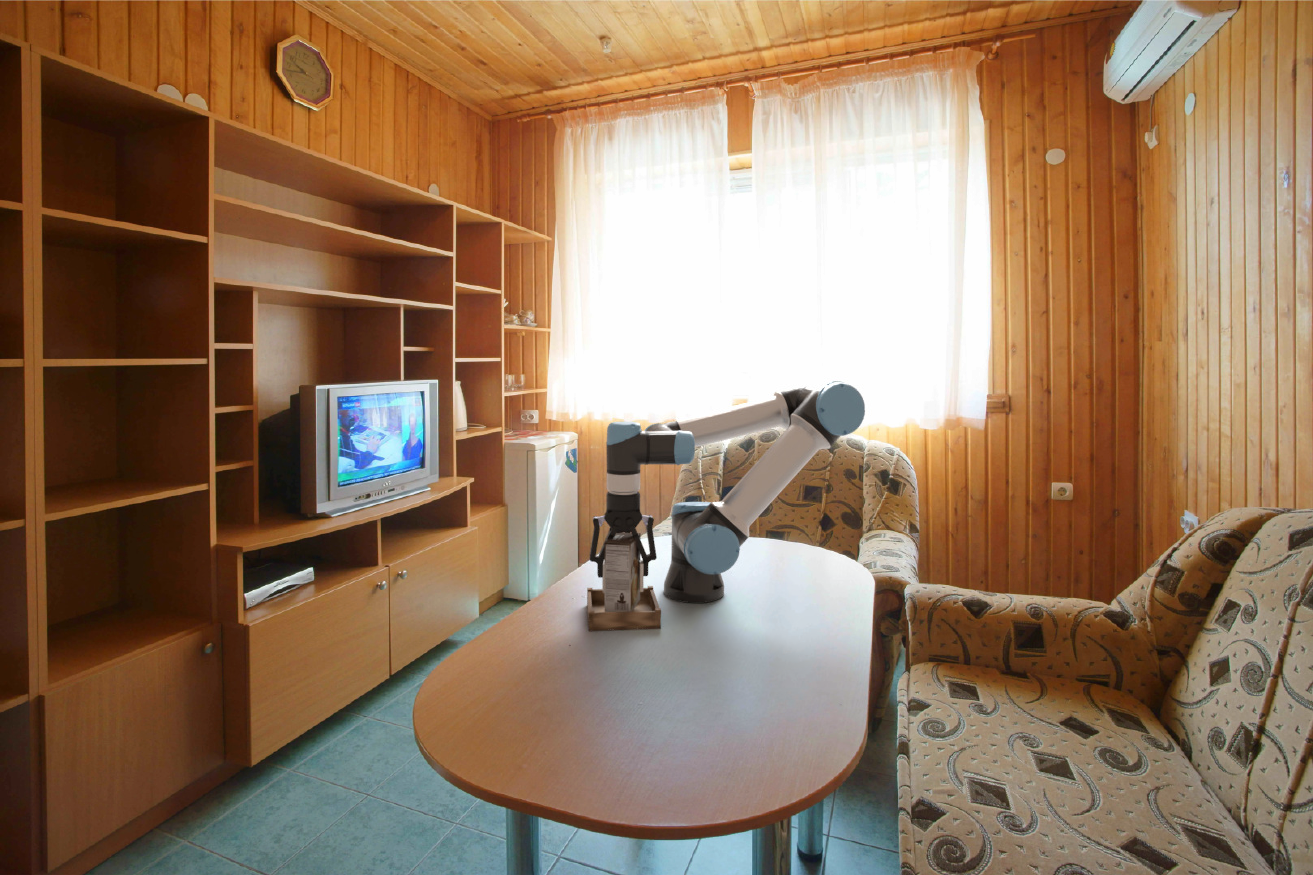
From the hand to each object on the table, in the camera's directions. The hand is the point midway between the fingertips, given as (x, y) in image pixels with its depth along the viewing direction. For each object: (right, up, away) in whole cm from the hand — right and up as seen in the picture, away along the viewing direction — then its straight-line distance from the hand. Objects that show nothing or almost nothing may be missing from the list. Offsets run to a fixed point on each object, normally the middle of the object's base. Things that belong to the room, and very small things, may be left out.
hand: (622, 590), depth 154 cm
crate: (0, -6, +1) cm, 6 cm away
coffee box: (0, -4, 0) cm, 4 cm away
